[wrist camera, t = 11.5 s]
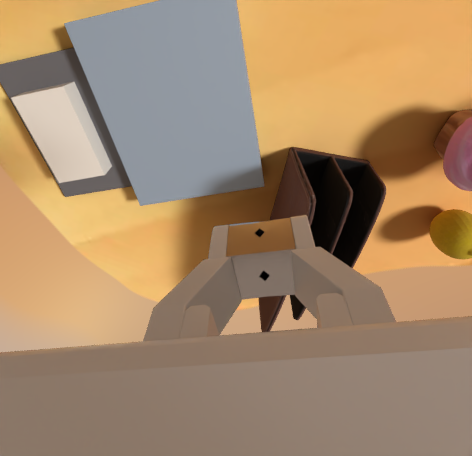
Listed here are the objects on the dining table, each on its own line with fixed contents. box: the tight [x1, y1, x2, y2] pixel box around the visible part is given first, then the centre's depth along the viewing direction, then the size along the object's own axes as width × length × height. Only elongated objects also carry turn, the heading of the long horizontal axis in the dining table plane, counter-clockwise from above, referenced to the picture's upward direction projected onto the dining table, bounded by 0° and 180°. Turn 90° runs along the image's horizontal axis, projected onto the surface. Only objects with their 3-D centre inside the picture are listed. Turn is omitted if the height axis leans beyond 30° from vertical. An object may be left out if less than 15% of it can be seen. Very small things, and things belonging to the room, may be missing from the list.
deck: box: [64, 0, 264, 206], centre depth 35 cm, size 20×16×2 cm
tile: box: [11, 82, 112, 183], centre depth 36 cm, size 10×6×2 cm, turn 11°
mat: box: [0, 48, 132, 197], centre depth 38 cm, size 16×10×1 cm, turn 11°
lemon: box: [429, 209, 472, 259], centre depth 40 cm, size 6×6×8 cm
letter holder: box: [259, 147, 386, 332], centre depth 39 cm, size 10×20×14 cm, turn 170°
